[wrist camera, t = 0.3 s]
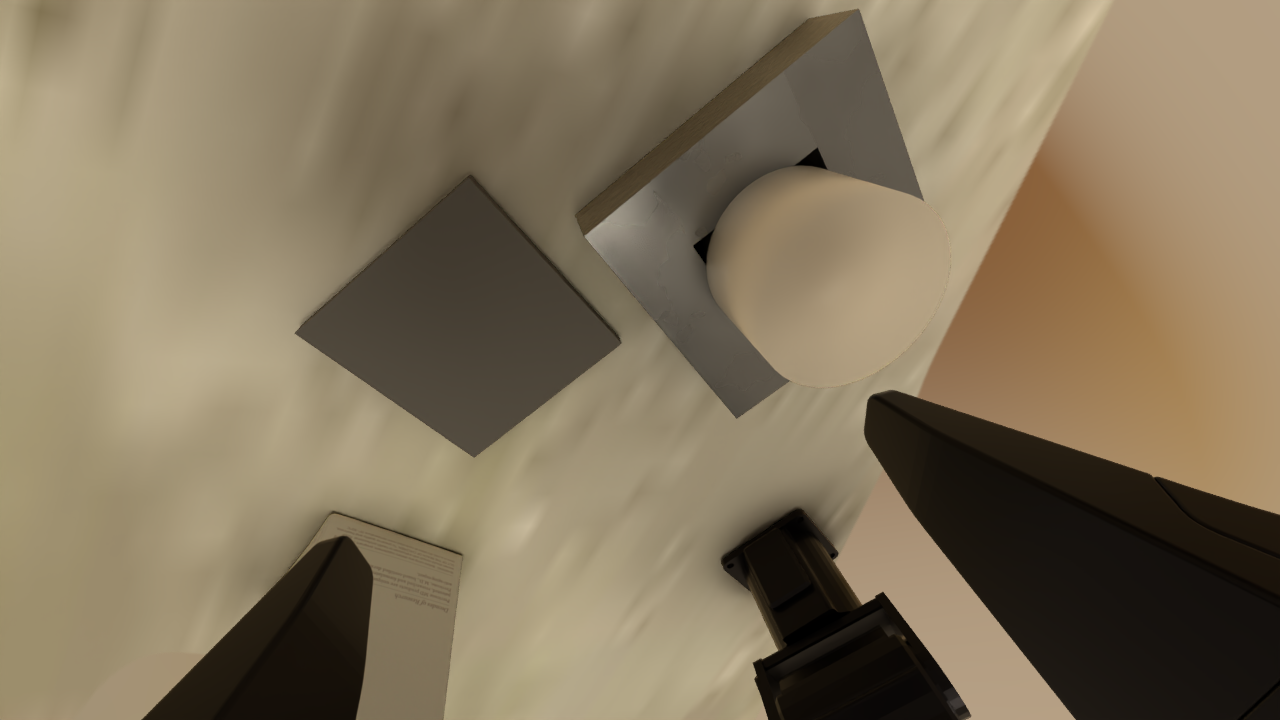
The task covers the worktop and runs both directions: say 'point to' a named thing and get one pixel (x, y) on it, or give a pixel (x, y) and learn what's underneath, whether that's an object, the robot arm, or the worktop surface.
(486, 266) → the rubber mat
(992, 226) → the worktop surface
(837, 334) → the end cover
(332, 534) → the supplement box
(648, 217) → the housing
